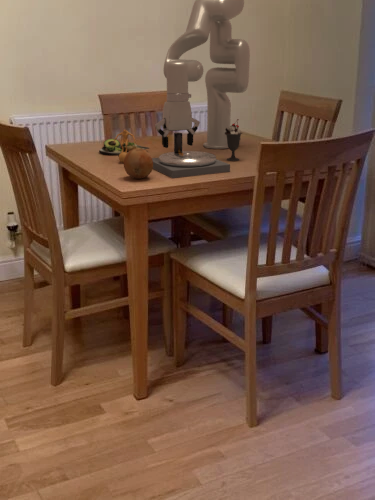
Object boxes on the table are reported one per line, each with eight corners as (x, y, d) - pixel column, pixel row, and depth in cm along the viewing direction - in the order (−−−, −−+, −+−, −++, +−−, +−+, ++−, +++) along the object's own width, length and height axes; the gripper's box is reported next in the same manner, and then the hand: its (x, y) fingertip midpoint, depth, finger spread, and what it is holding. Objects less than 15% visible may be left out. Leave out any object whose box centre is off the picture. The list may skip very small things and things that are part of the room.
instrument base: (200, 159, 241) (201, 152, 240) (230, 171, 222) (230, 163, 221) (146, 165, 232) (146, 158, 231) (172, 178, 213) (172, 170, 212)
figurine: (111, 163, 235) (110, 130, 231) (116, 160, 241) (115, 128, 237) (133, 164, 234) (132, 131, 230) (138, 161, 239) (137, 128, 235)
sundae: (243, 158, 243) (244, 118, 238) (239, 162, 237) (240, 121, 232) (227, 157, 245) (227, 117, 240) (222, 160, 239) (222, 120, 234)
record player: (150, 158, 231) (150, 134, 228) (200, 153, 239) (200, 130, 236) (173, 168, 214) (172, 143, 211) (225, 163, 221) (226, 138, 219)
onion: (151, 174, 219) (151, 145, 215) (155, 181, 209) (154, 150, 206) (123, 175, 217) (122, 146, 214) (125, 182, 208) (124, 151, 204)
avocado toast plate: (152, 148, 265) (152, 137, 263) (145, 157, 248) (145, 145, 246) (106, 147, 266) (105, 136, 265) (96, 156, 250) (95, 144, 248)
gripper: (194, 95, 232) (194, 142, 238) (150, 98, 225) (151, 146, 231) (204, 97, 226) (203, 146, 232) (159, 100, 219) (160, 150, 225)
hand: (177, 146), depth 232 cm, fingers open, 9 cm apart
